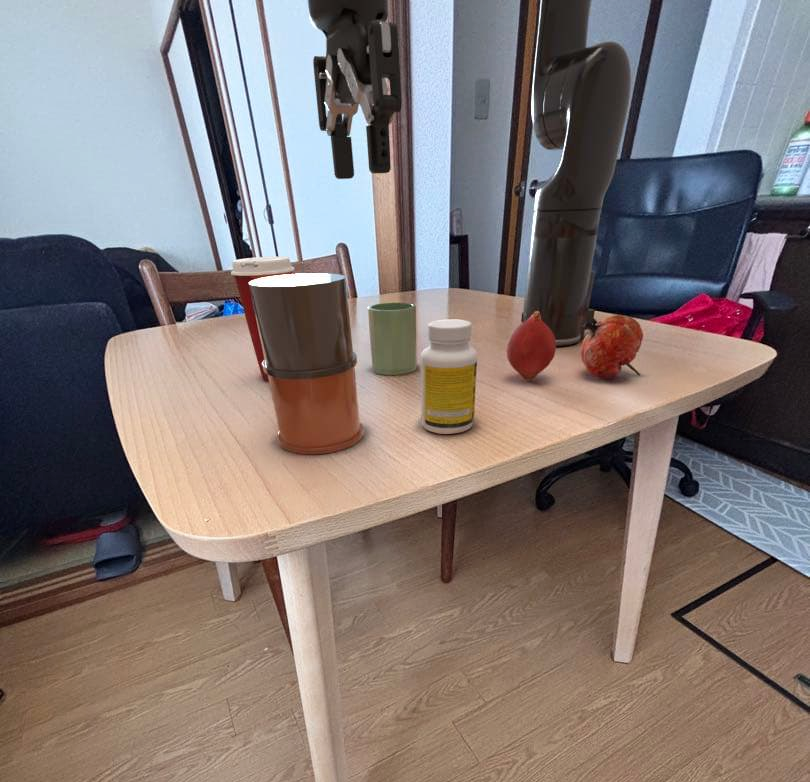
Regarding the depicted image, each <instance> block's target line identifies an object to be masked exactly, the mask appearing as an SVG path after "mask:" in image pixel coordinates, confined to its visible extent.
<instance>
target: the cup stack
mask: <svg viewBox="0 0 810 782" xmlns="http://www.w3.org/2000/svg"><path fill="white" fill-rule="evenodd" d="M249 286H250V291H251V296H252V300H253V305H254V310H255V315H256V320H257V325H258V330H259V335H260V340H261V344H262V349H263V354H264V359H265V360H264V361H263V362H262V366H263V371H264V372H265V373H266V374H267V375H268V379H269V381H268V382H269V389H270V393H271V397H272V403H273V407H274V412H275V417H276V418H275V419H276V423H277V427H278V432H277V436H276V437H277V443H278V444H279V446H280V448H282V449H283V450H285V451H286V452H287V451H288V452H290V453H294V454H297V455H298V454H299V455H324V454H331V453H336V452H339V451H343V450H346V449H348V448H351V447H353V446H355V445H357V443H359V442H360V441H361V440H362V439H363V437H364V434H365V433H364V432H365V431H364V425H363V424H362V423H361V419H360V411H359V401H358V391H357V378H356V370H355V367H356V366H357V364H358V358H357V354H356V353H355V352H354V349H353V347H354V346H353V339H352V338H353V337H352V328H351V316H350V308H349V295H348V287H347V277H346V276H345V275H343V274H339V273H324V272H323V273H320V272H319V273H318V272H317V273H295V274H294V273H293V275H282V276H273V277H267V278H261V279H257V280H253V281H251V282H250V283H249Z"/></svg>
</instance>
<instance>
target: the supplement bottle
mask: <svg viewBox="0 0 810 782" xmlns="http://www.w3.org/2000/svg"><path fill="white" fill-rule="evenodd" d="M471 337H472V322H471V321H468V320H465V319H457V318H456V319H455V318H454V319H453V318H451V319H450V318H449V319H438V320H432V321H430V322H429V323H428V324H427V340H428V342H430V343H429V344H430V345H429V346H426V347H425V348H424V349H423V350H422V352H421V354H420V402H421V403H420V414H421V418H420V420H421V425H422V427H423V428H424V429H425V430H427V431H429V432H432V433H434V434H440V435H451V434H452V435H453V434H460V433H463V432H467V431H468V430H470V429H471V428H472V427H473V424H474V422H475V421H474V419H475V405H476V403H475V402H476V387H477V370H478V369H477V368H478V354H477V351H476V349H475V348H474V347H473V346H471V345H469V341H471Z"/></svg>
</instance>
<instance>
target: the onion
mask: <svg viewBox="0 0 810 782" xmlns="http://www.w3.org/2000/svg"><path fill="white" fill-rule="evenodd" d="M556 352H557V346H556V340H555V337H554V334H553V332H552V331H551V329H550V328H549V327H548V326H547V325H546V324H545V323H544V322H543V321H542V320H541V316H540V312H538V311H537V312H534V314H533V315H532V316H531V317H530V318H528V319H527V320H526V321H525V322H523V323H522V322H521V323H520V324H519V326H518V327H516V328H515V330H514V331H513V332H512V334H511V336H510V339H509V341H508V343H507V347H506V358H507V361H508V362H509V365H510V366H511V367H512V368H513V369H514V371H516V372H517V373H518V374H519V375H520V376H521V377H522V378H523V379H524V380H526V381H530V380H533V379H535V377H536V376H537V375H539V374H540V373H542V372H543V371H544V370H545V369H546V368H547V367H548V366H550V364H551V362H552V361H553V360H554V357H555V354H556Z"/></svg>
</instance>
